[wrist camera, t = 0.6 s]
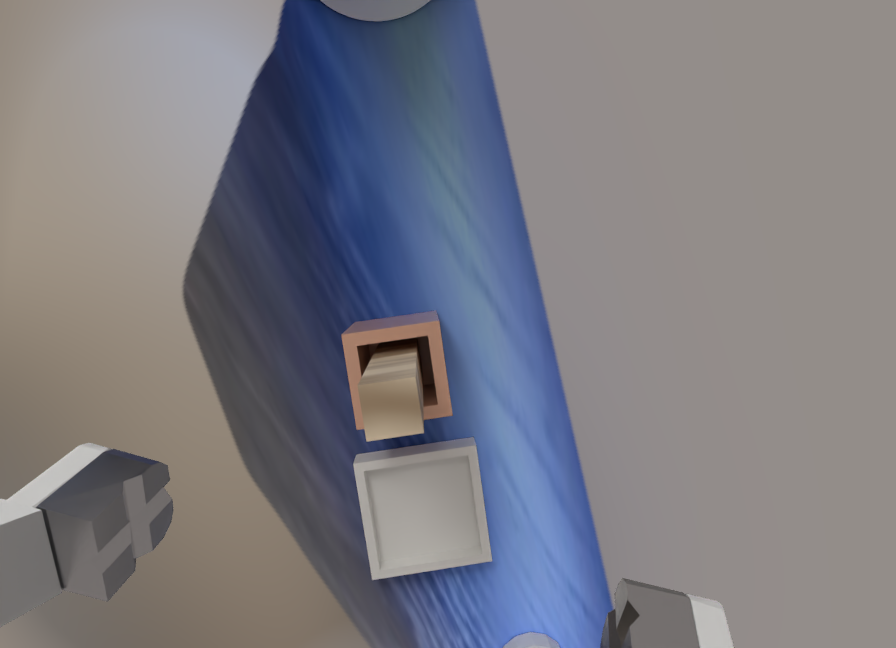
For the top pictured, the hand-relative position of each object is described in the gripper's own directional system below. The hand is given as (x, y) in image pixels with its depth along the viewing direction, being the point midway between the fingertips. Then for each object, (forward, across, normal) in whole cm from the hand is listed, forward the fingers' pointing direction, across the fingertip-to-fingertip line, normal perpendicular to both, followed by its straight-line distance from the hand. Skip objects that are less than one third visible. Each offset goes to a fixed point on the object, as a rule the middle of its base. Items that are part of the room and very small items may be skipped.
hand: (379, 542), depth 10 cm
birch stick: (+37, +9, +18) cm, 42 cm away
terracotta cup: (+38, +9, +18) cm, 43 cm away
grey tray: (+34, +5, +31) cm, 46 cm away
